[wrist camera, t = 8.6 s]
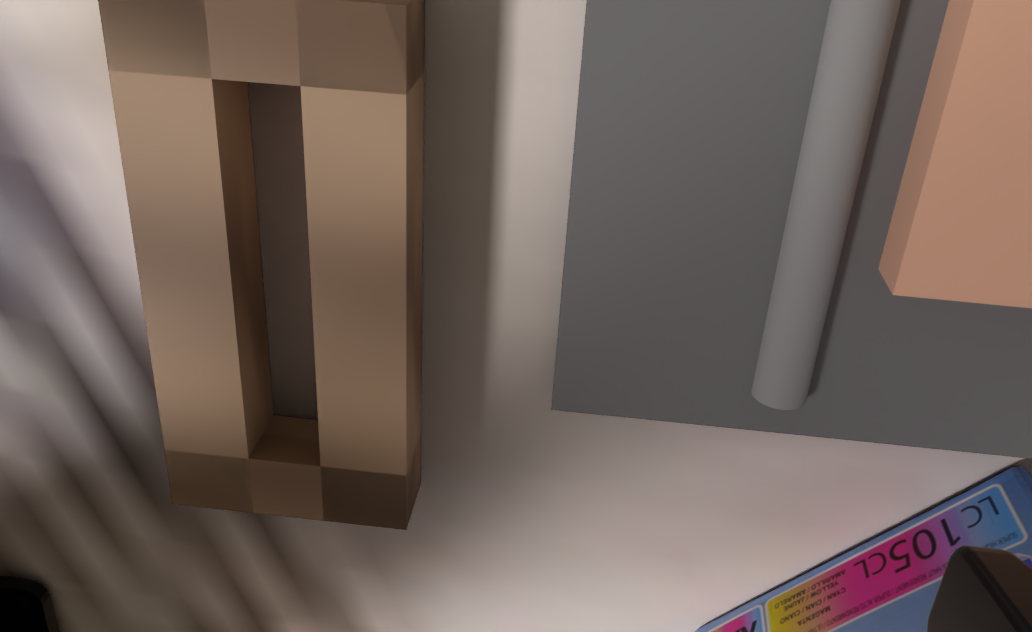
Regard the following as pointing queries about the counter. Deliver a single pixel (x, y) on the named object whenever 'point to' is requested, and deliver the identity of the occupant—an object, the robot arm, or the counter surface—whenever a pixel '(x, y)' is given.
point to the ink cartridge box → (895, 567)
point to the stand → (237, 255)
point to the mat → (767, 232)
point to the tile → (970, 165)
